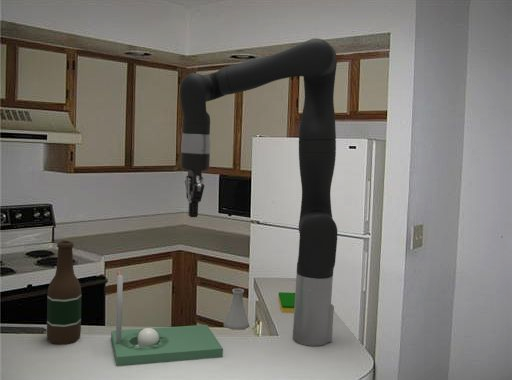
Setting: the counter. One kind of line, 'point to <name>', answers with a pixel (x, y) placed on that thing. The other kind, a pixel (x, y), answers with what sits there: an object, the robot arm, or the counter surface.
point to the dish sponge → (287, 302)
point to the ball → (147, 337)
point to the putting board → (162, 341)
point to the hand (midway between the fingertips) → (192, 216)
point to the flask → (236, 312)
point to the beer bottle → (64, 300)
